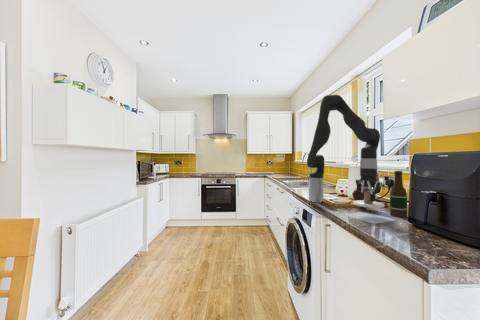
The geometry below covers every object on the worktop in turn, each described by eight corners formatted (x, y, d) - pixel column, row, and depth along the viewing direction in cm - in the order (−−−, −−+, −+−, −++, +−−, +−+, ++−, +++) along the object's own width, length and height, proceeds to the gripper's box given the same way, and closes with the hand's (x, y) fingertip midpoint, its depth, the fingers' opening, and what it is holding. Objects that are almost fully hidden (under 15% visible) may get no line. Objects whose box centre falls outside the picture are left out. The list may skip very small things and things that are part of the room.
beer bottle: (393, 214, 120) (393, 170, 120) (410, 217, 114) (410, 171, 114) (386, 216, 116) (386, 170, 116) (403, 219, 110) (403, 171, 109)
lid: (346, 203, 117) (346, 190, 116) (365, 200, 122) (365, 188, 122) (371, 209, 104) (371, 194, 103) (391, 206, 109) (391, 192, 109)
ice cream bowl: (348, 209, 133) (347, 184, 133) (360, 207, 137) (360, 183, 137) (364, 213, 123) (364, 186, 123) (377, 210, 128) (377, 185, 128)
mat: (342, 215, 118) (342, 214, 118) (363, 212, 124) (363, 211, 124) (373, 225, 101) (373, 223, 101) (396, 221, 107) (396, 219, 107)
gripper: (351, 166, 117) (351, 198, 118) (376, 168, 104) (376, 204, 105) (361, 166, 120) (361, 197, 121) (387, 167, 107) (387, 202, 107)
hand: (368, 200), depth 113 cm, fingers closed on lid, 4 cm apart
